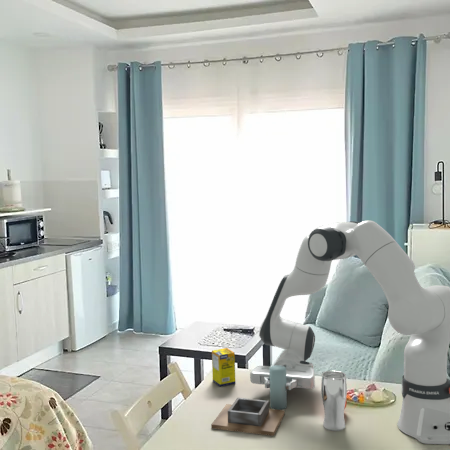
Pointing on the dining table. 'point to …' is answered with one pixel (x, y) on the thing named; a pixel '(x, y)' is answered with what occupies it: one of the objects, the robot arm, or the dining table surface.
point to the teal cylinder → (278, 387)
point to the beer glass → (334, 399)
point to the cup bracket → (249, 417)
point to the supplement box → (223, 366)
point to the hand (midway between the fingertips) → (277, 386)
